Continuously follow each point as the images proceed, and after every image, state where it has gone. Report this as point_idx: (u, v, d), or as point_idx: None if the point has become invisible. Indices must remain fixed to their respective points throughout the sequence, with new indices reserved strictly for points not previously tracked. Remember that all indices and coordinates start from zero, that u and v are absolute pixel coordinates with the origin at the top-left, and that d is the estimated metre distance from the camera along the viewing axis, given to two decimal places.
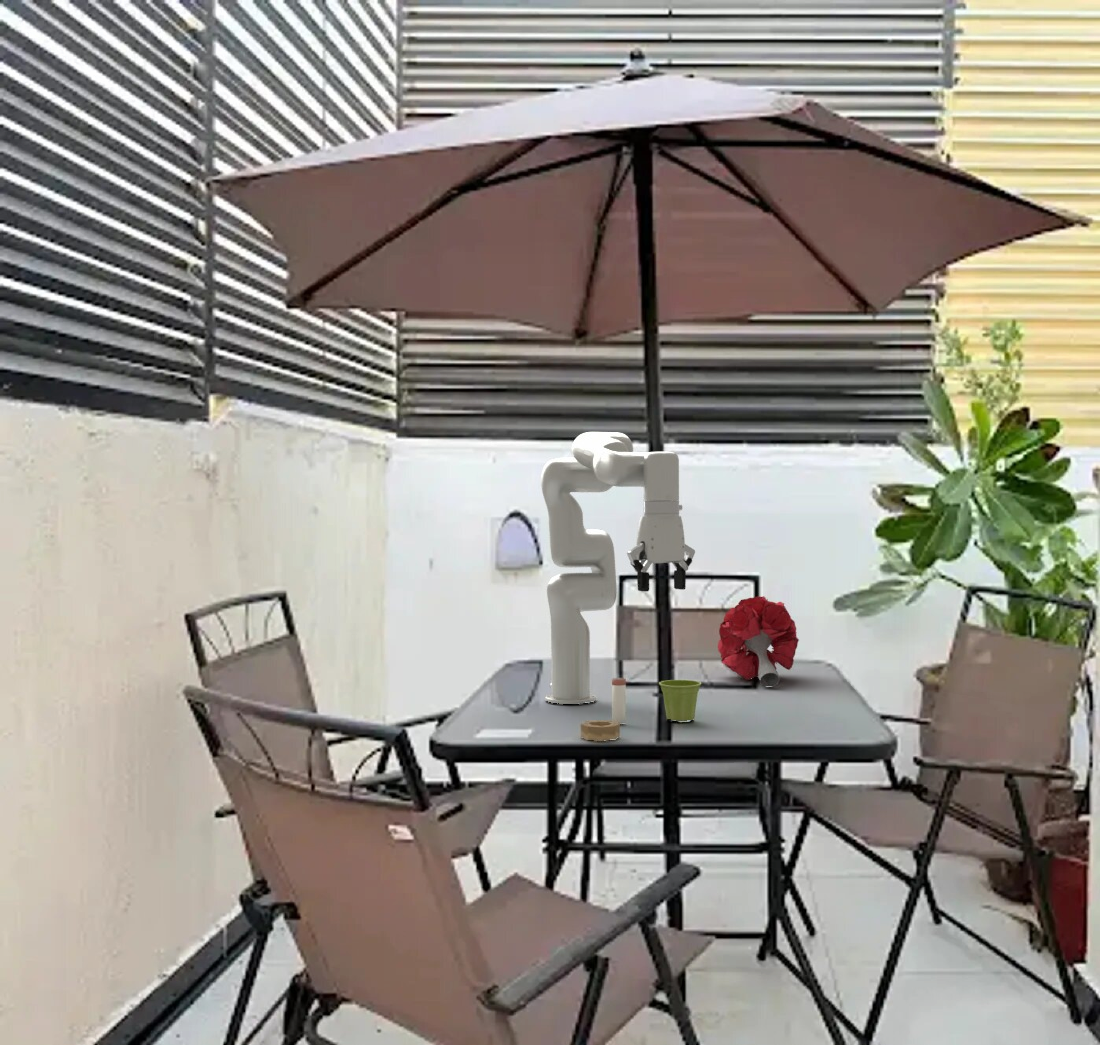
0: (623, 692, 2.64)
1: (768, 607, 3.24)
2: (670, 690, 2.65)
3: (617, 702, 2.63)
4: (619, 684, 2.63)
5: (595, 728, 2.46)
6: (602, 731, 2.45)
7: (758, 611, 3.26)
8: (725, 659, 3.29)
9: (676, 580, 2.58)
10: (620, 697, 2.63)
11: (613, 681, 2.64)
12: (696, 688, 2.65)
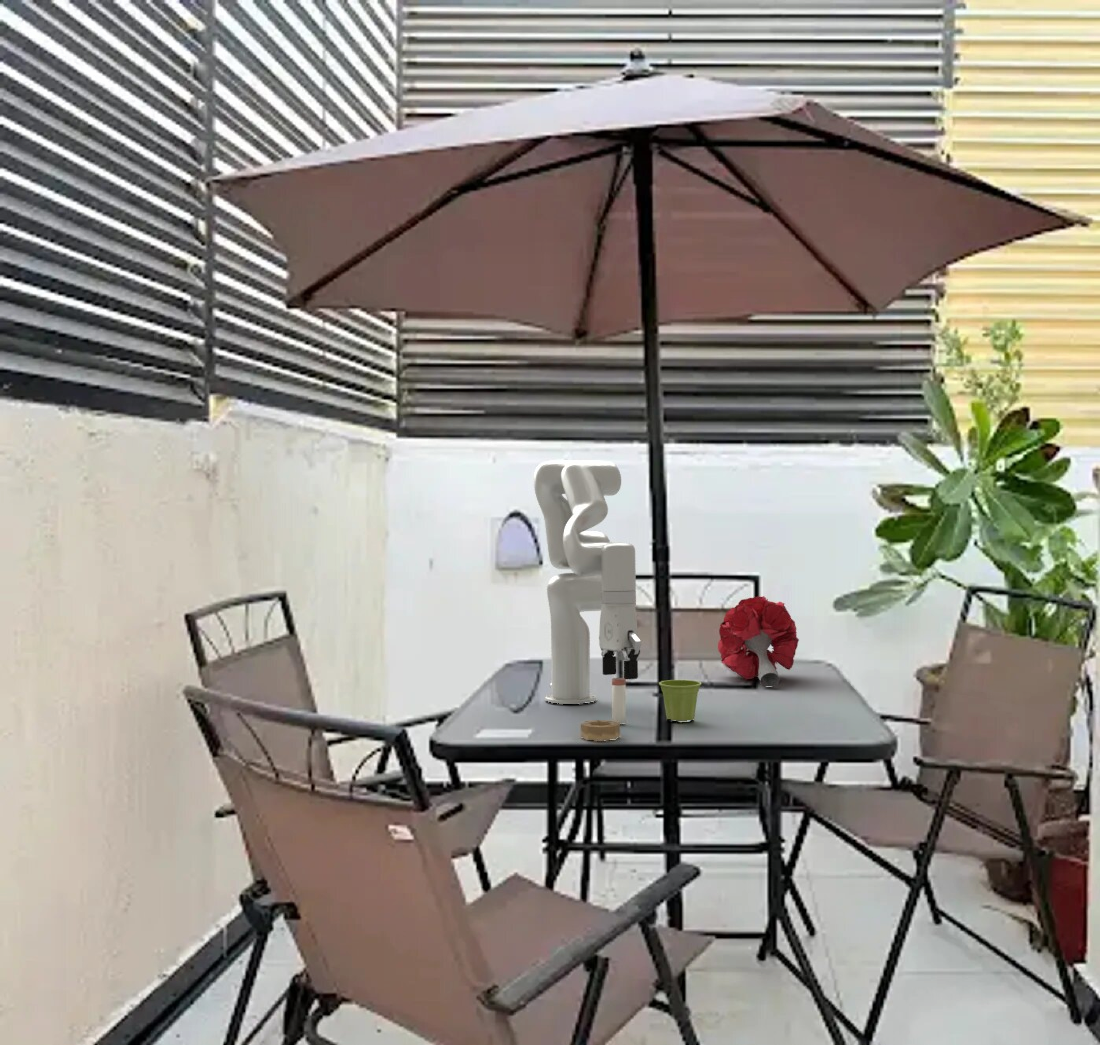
0: (623, 692, 2.64)
1: (768, 607, 3.23)
2: (670, 690, 2.65)
3: (617, 702, 2.63)
4: (619, 684, 2.63)
5: (595, 728, 2.46)
6: (602, 731, 2.45)
7: (758, 611, 3.26)
8: (725, 659, 3.28)
9: (608, 666, 2.68)
10: (620, 697, 2.63)
11: (613, 681, 2.64)
12: (696, 688, 2.65)
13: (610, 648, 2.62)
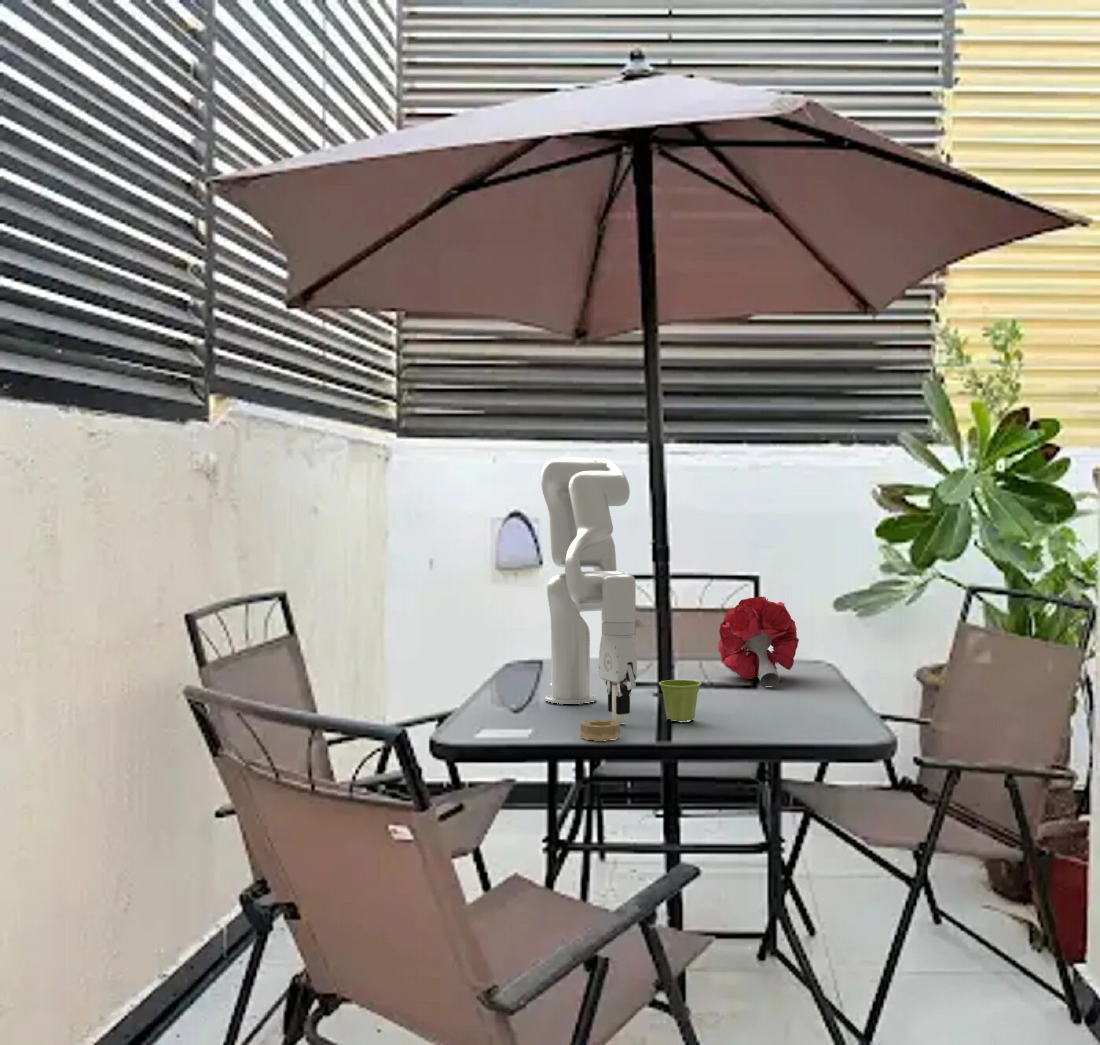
0: None
1: (768, 607, 3.23)
2: (670, 690, 2.65)
3: None
4: None
5: (595, 728, 2.46)
6: (602, 731, 2.45)
7: (758, 611, 3.26)
8: (725, 659, 3.28)
9: None
10: None
11: None
12: (696, 688, 2.65)
13: (609, 679, 2.63)
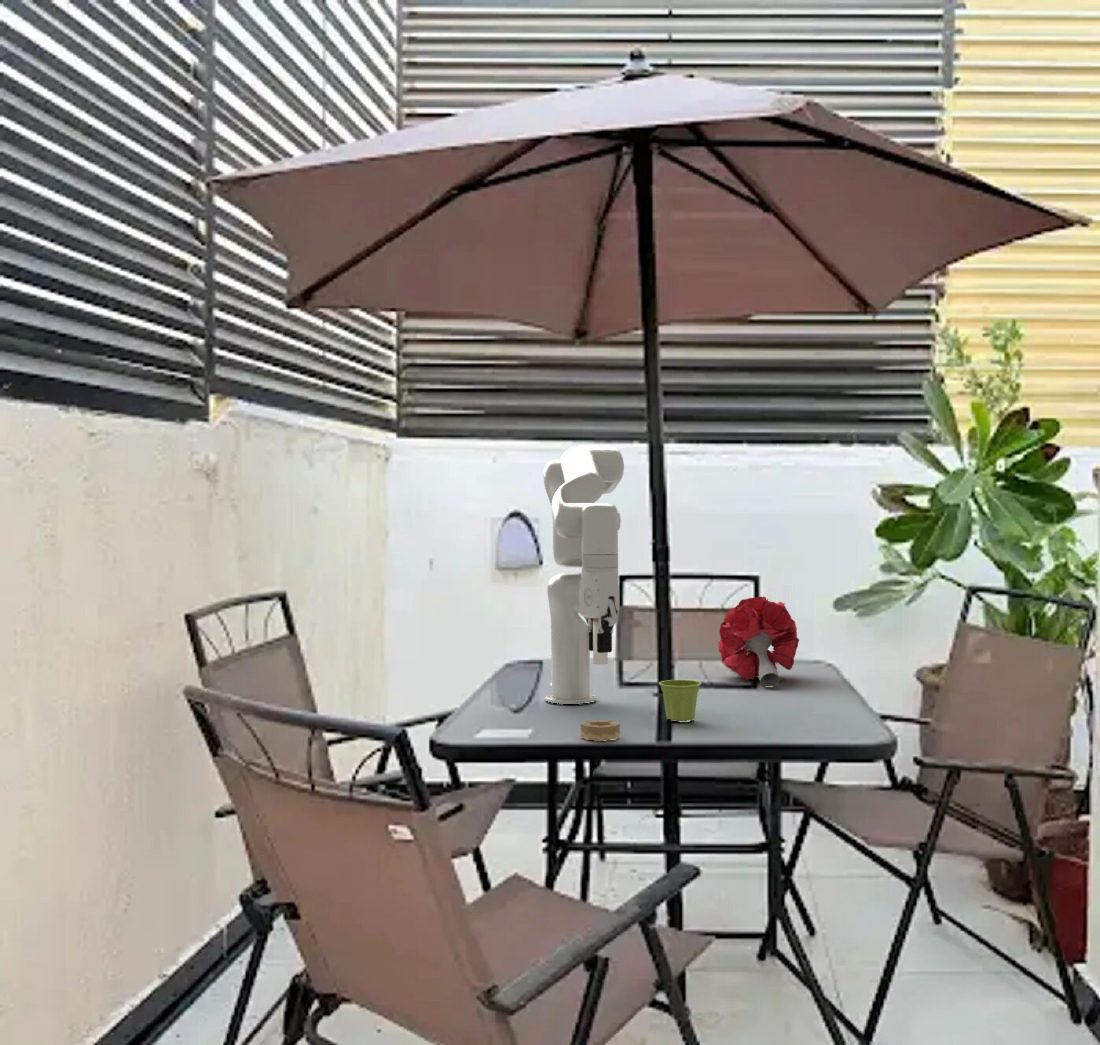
0: None
1: (768, 607, 3.23)
2: (670, 690, 2.65)
3: None
4: None
5: (595, 728, 2.46)
6: (602, 731, 2.45)
7: (758, 611, 3.26)
8: (725, 659, 3.28)
9: None
10: None
11: (594, 618, 2.48)
12: (696, 688, 2.65)
13: (590, 615, 2.47)
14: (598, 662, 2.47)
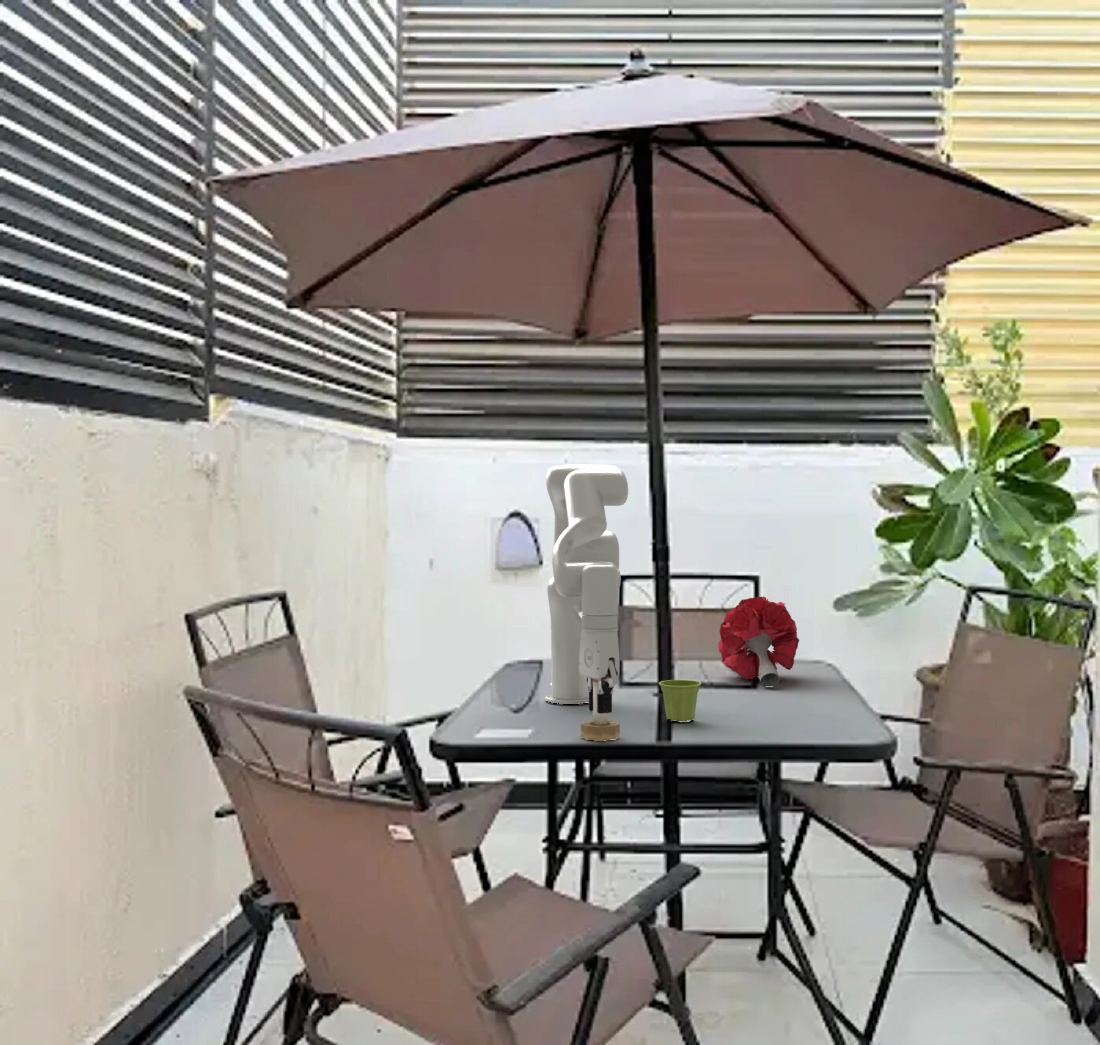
0: None
1: (768, 607, 3.23)
2: (670, 690, 2.65)
3: None
4: None
5: (595, 728, 2.46)
6: (602, 731, 2.45)
7: (758, 611, 3.26)
8: (725, 660, 3.28)
9: None
10: None
11: None
12: (696, 688, 2.65)
13: (590, 676, 2.47)
14: (598, 723, 2.48)
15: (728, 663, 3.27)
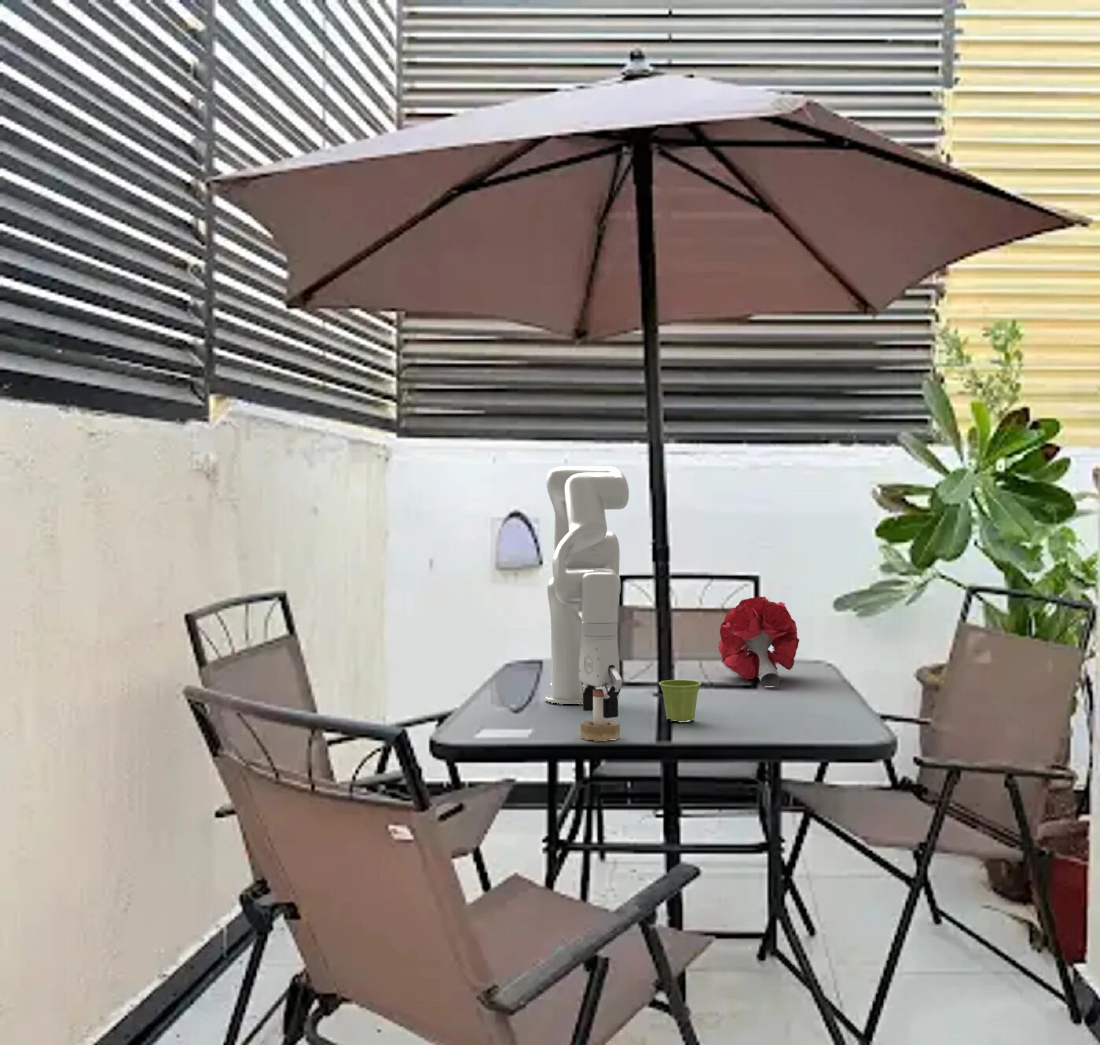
0: None
1: (769, 607, 3.23)
2: (670, 690, 2.65)
3: (598, 714, 2.48)
4: (600, 695, 2.48)
5: (595, 728, 2.46)
6: (602, 731, 2.45)
7: (759, 611, 3.26)
8: (725, 660, 3.28)
9: (588, 702, 2.53)
10: (601, 710, 2.48)
11: (594, 693, 2.48)
12: (696, 688, 2.65)
13: (590, 683, 2.47)
14: None
15: (728, 663, 3.27)
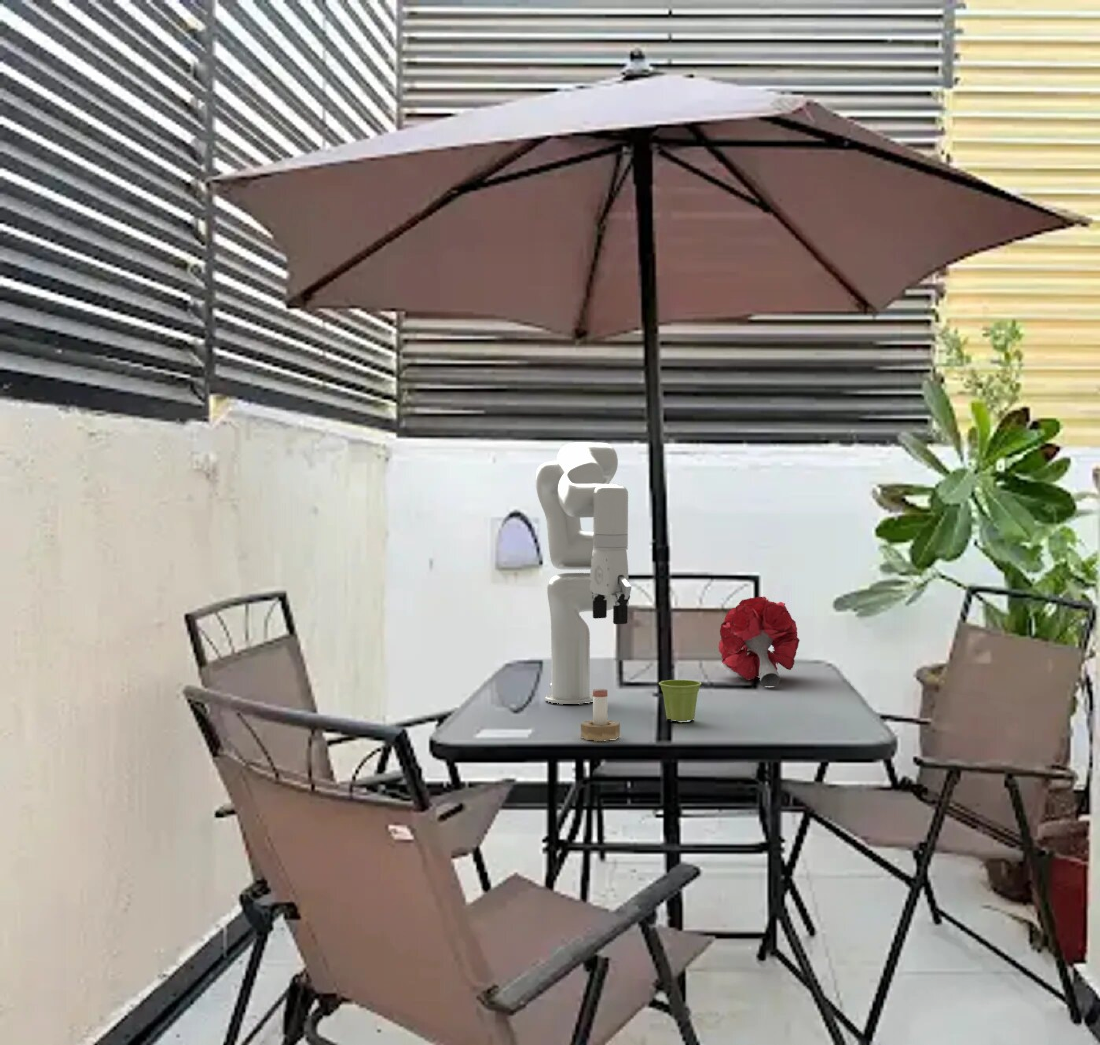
0: (605, 704, 2.48)
1: (769, 607, 3.23)
2: (670, 690, 2.65)
3: (598, 714, 2.48)
4: (600, 695, 2.48)
5: (595, 728, 2.46)
6: (602, 731, 2.45)
7: (759, 611, 3.26)
8: (725, 660, 3.28)
9: (598, 610, 2.64)
10: (601, 710, 2.48)
11: (594, 693, 2.48)
12: (696, 688, 2.65)
13: (600, 592, 2.58)
14: None
15: (728, 663, 3.27)
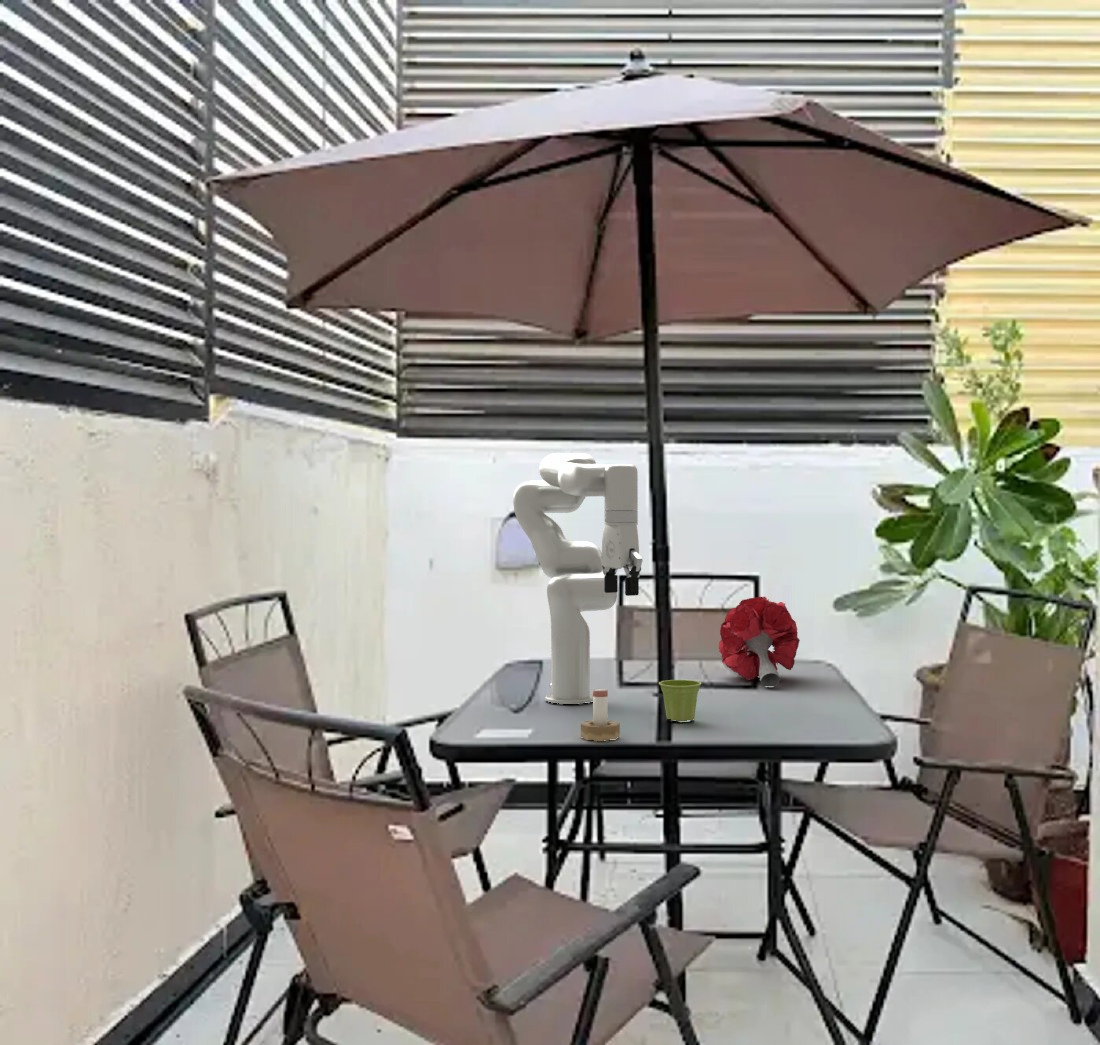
0: (605, 704, 2.48)
1: (769, 607, 3.23)
2: (670, 690, 2.65)
3: (598, 714, 2.48)
4: (600, 695, 2.48)
5: (595, 728, 2.46)
6: (602, 731, 2.45)
7: (759, 611, 3.26)
8: (725, 660, 3.28)
9: (609, 584, 2.75)
10: (601, 710, 2.48)
11: (594, 693, 2.48)
12: (696, 688, 2.65)
13: (612, 566, 2.69)
14: None
15: (728, 663, 3.27)
